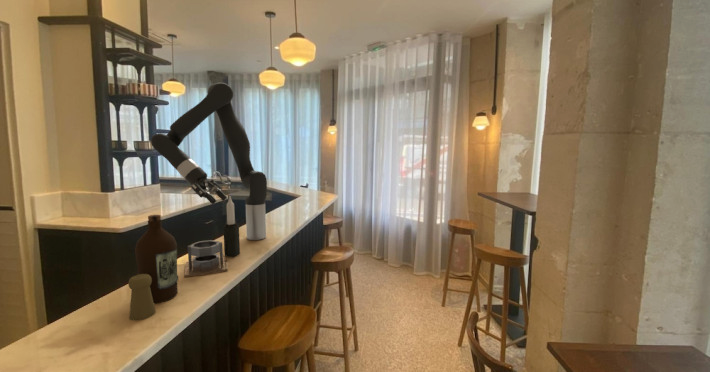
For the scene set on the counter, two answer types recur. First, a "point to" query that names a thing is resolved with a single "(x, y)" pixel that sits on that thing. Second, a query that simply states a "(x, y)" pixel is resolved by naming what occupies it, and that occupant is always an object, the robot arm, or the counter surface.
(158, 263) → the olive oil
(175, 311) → the counter surface
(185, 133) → the robot arm
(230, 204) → the bottle
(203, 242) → the collar stand
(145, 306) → the cork
